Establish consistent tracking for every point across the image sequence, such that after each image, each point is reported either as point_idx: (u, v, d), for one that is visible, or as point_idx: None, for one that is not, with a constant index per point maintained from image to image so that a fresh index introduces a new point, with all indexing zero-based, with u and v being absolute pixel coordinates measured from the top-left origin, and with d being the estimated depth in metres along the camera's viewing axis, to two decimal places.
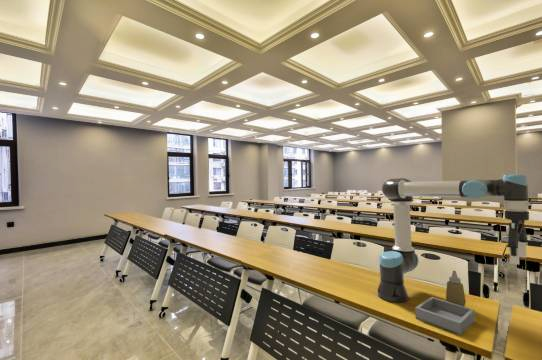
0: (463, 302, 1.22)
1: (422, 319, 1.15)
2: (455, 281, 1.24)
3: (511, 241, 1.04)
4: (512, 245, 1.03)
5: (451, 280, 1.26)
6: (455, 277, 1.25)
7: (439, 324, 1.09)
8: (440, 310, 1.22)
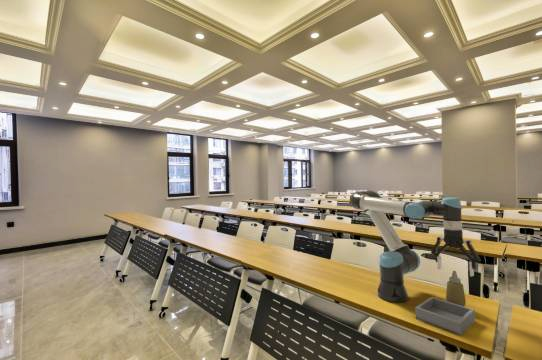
0: (463, 302, 1.22)
1: (422, 319, 1.15)
2: (455, 281, 1.24)
3: None
4: None
5: (451, 280, 1.26)
6: (455, 277, 1.25)
7: (439, 324, 1.09)
8: (440, 310, 1.22)
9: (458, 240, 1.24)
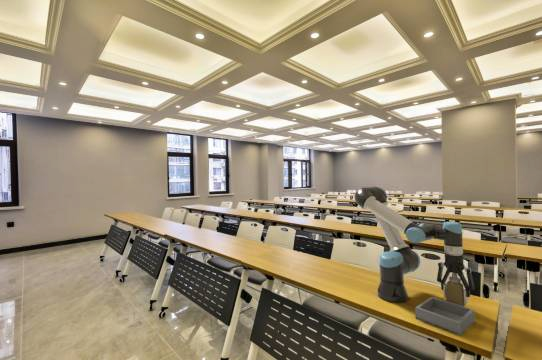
0: (463, 302, 1.22)
1: (422, 319, 1.15)
2: (455, 281, 1.24)
3: None
4: None
5: (451, 280, 1.26)
6: (455, 277, 1.25)
7: (439, 324, 1.09)
8: (440, 310, 1.22)
9: (459, 265, 1.24)
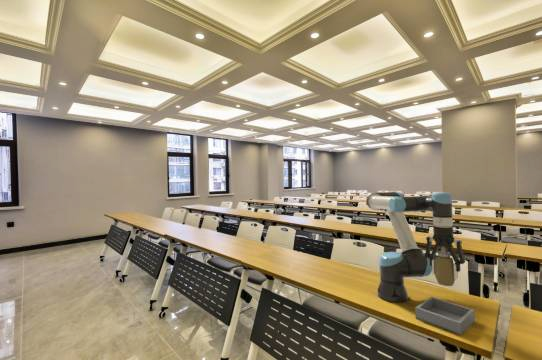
0: (453, 277, 1.13)
1: (422, 319, 1.15)
2: (444, 255, 1.15)
3: None
4: None
5: (440, 254, 1.17)
6: (444, 251, 1.16)
7: (439, 324, 1.09)
8: (440, 310, 1.22)
9: (449, 238, 1.15)
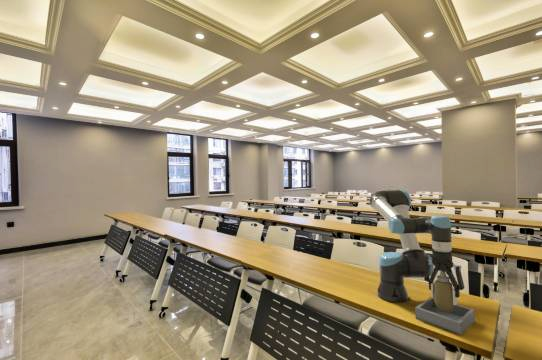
0: (452, 303, 1.12)
1: (422, 319, 1.15)
2: (443, 280, 1.14)
3: None
4: None
5: (439, 279, 1.15)
6: (443, 276, 1.15)
7: (439, 324, 1.09)
8: (440, 310, 1.22)
9: (448, 263, 1.13)
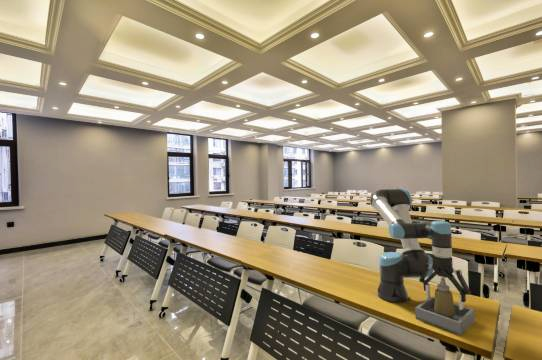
0: (452, 312, 1.12)
1: (422, 319, 1.15)
2: (443, 289, 1.14)
3: None
4: None
5: (439, 288, 1.15)
6: (443, 285, 1.15)
7: (439, 324, 1.09)
8: None
9: (447, 269, 1.13)
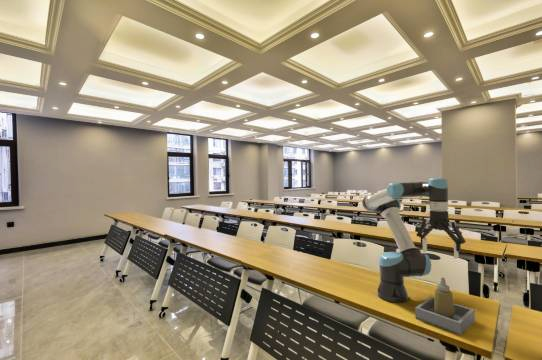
0: (452, 312, 1.12)
1: (422, 319, 1.15)
2: (443, 289, 1.14)
3: None
4: None
5: (439, 288, 1.15)
6: (444, 285, 1.15)
7: (439, 324, 1.09)
8: None
9: (443, 222, 1.19)
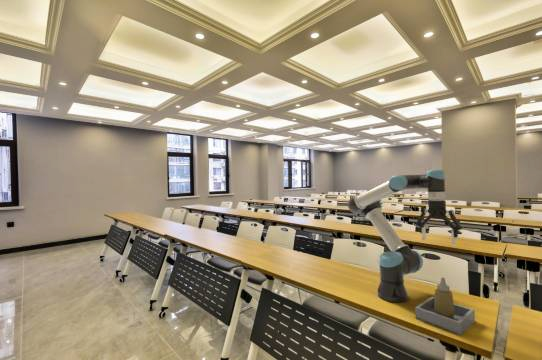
0: (452, 312, 1.12)
1: (422, 319, 1.15)
2: (443, 289, 1.14)
3: None
4: None
5: (439, 288, 1.15)
6: (444, 285, 1.15)
7: (439, 324, 1.09)
8: None
9: (441, 210, 1.28)
